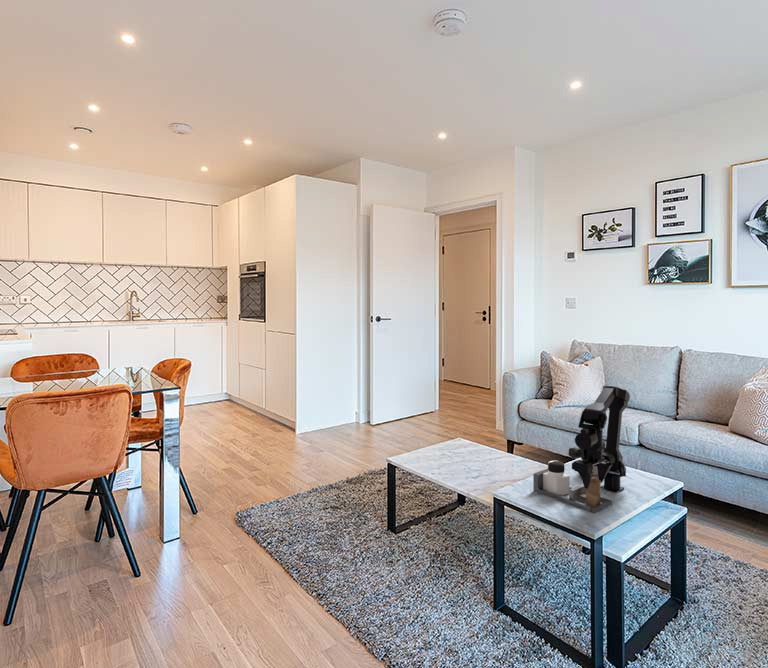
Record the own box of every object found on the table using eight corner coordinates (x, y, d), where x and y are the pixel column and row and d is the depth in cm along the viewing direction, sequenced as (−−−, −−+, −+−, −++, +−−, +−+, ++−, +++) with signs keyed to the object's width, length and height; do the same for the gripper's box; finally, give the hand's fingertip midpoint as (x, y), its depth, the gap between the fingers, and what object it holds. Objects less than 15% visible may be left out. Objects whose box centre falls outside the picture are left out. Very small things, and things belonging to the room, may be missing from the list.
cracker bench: (551, 484, 199) (551, 467, 198) (612, 504, 178) (612, 485, 178) (533, 491, 192) (533, 473, 191) (594, 513, 171) (594, 493, 171)
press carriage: (582, 495, 186) (582, 470, 185) (604, 503, 179) (604, 477, 178) (569, 501, 181) (569, 475, 180) (591, 509, 174) (591, 482, 173)
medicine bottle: (569, 493, 189) (570, 463, 188) (555, 497, 186) (556, 466, 185) (556, 487, 195) (556, 458, 194) (542, 490, 192) (542, 460, 191)
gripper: (587, 433, 188) (587, 473, 189) (558, 442, 177) (558, 484, 179) (615, 440, 179) (615, 481, 180) (586, 449, 168) (586, 494, 170)
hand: (593, 485), depth 177 cm, fingers open, 9 cm apart
